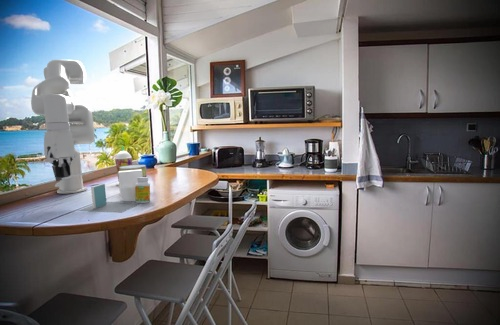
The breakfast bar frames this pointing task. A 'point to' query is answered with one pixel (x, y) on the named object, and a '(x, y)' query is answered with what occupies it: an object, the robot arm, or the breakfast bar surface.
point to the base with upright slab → (128, 184)
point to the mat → (112, 207)
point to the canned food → (134, 168)
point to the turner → (67, 173)
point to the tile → (98, 195)
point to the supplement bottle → (142, 190)
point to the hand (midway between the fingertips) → (63, 176)
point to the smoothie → (122, 160)
